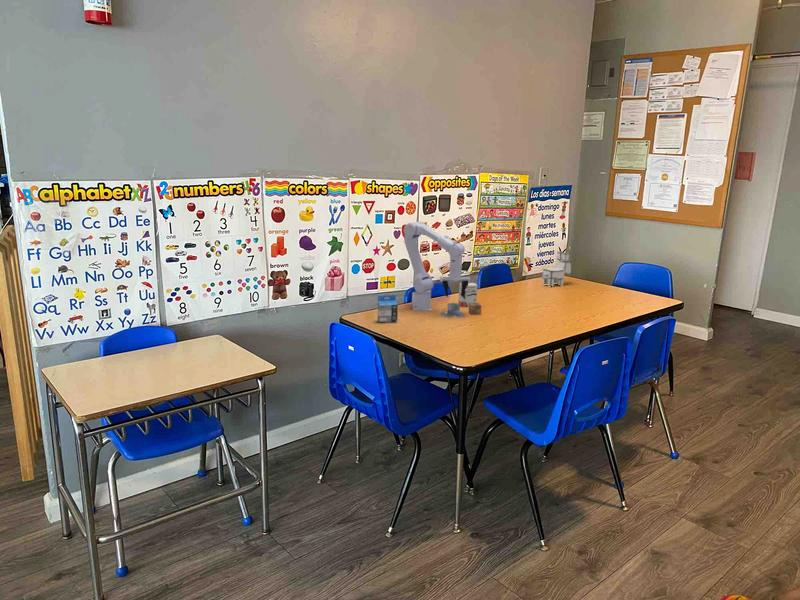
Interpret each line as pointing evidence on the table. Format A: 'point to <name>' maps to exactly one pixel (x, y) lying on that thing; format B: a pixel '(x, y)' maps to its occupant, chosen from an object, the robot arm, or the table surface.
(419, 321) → the table surface
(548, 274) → the toy llama
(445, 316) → the letter card
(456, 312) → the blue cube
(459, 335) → the table surface
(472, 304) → the walnut block
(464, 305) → the ink box
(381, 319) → the label tape box
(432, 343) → the table surface
